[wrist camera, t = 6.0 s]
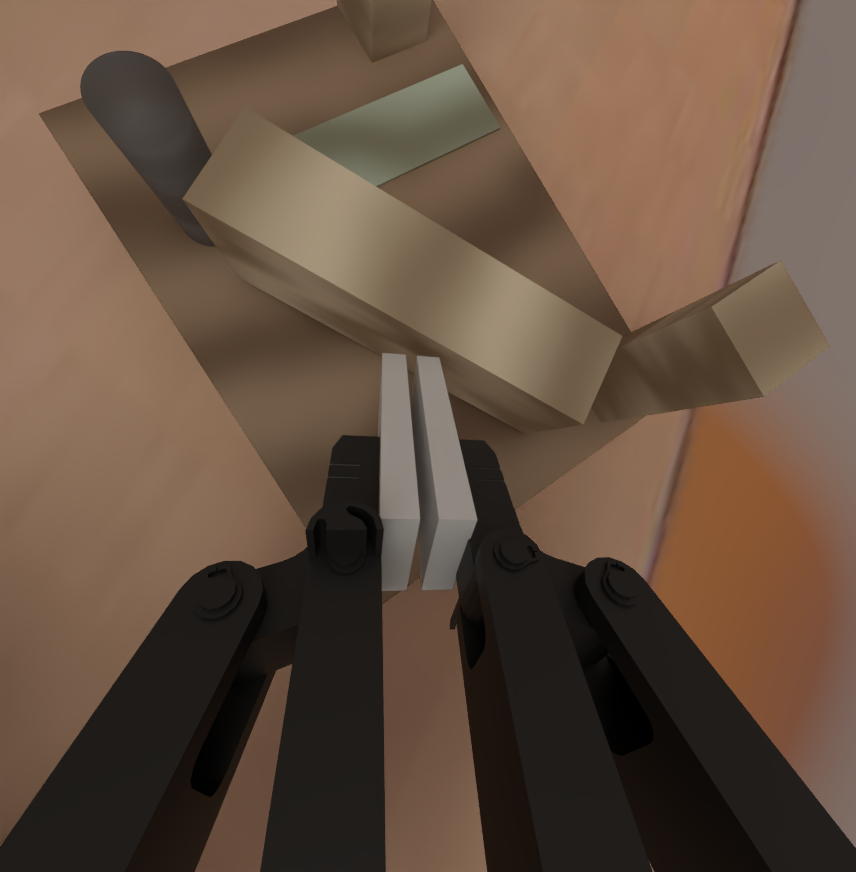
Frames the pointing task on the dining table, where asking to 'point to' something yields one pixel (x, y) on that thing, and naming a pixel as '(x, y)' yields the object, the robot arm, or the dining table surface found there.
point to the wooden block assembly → (417, 188)
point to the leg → (396, 279)
